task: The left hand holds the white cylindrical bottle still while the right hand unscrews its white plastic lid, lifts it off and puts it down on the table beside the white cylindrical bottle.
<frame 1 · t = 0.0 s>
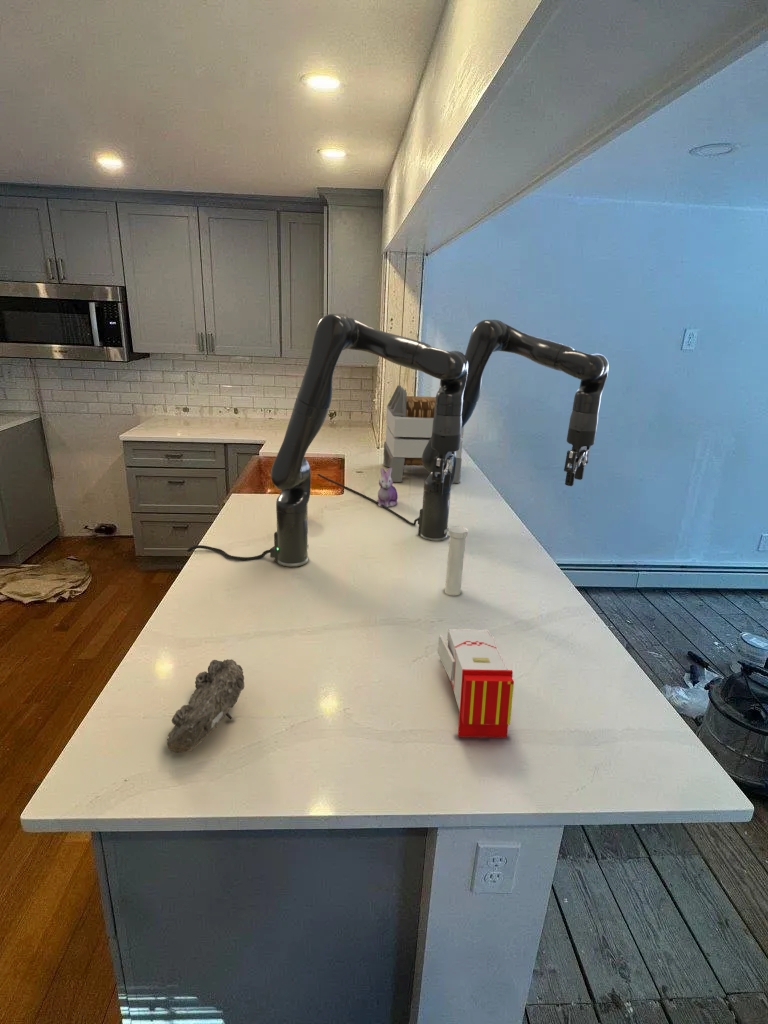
left hand: (441, 490, 152), 29 cm above the counter, tool pointing down, fingers open, 8 cm apart
right hand: (573, 482, 165), 29 cm above the counter, tool pointing down, fingers open, 8 cm apart
grey wooden box: (419, 473, 275), on the counter
fossil: (212, 717, 108), on the counter
figurine character: (298, 523, 206), on the counter
lid: (458, 530, 154), point 19 cm above the counter, screwed on, not yet turned
figurine: (386, 504, 229), on the counter
white cylindrical bottle: (452, 592, 160), on the counter
toy: (469, 691, 119), on the counter
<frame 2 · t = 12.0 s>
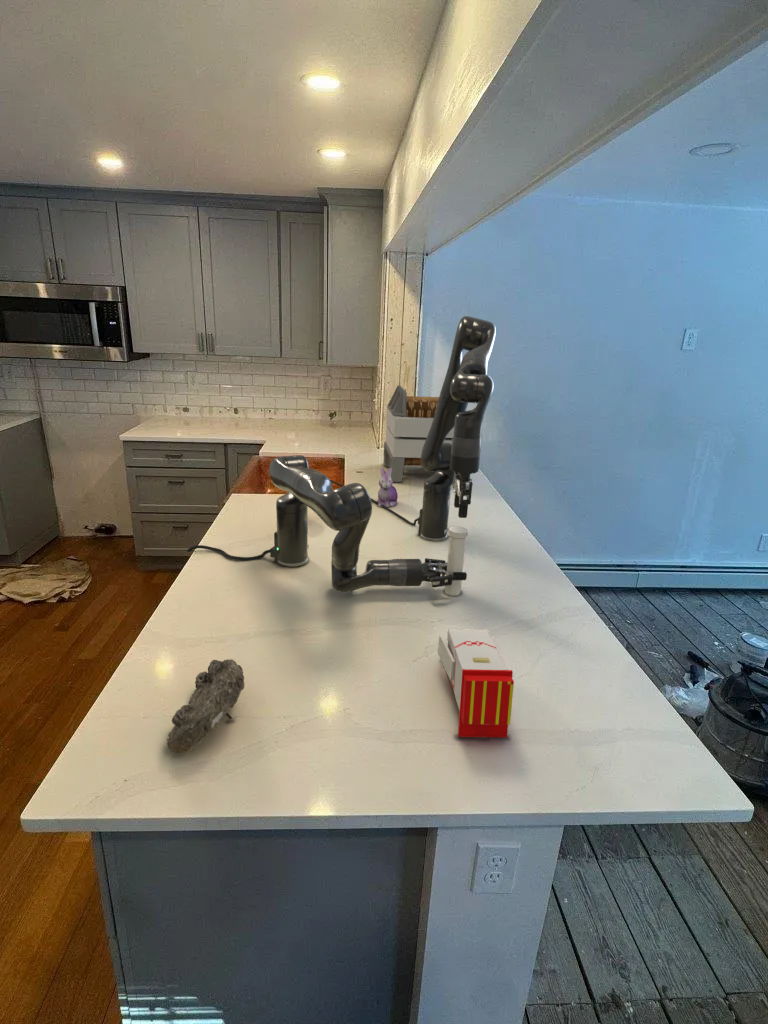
left hand: (463, 572, 159), 6 cm above the counter, tool horizontal, fingers closed on white cylindrical bottle, 4 cm apart
right hand: (460, 512, 152), 24 cm above the counter, tool pointing down, fingers open, 7 cm apart
white cylindrical bottle: (452, 591, 160), on the counter, touching left hand
everything else where it was.
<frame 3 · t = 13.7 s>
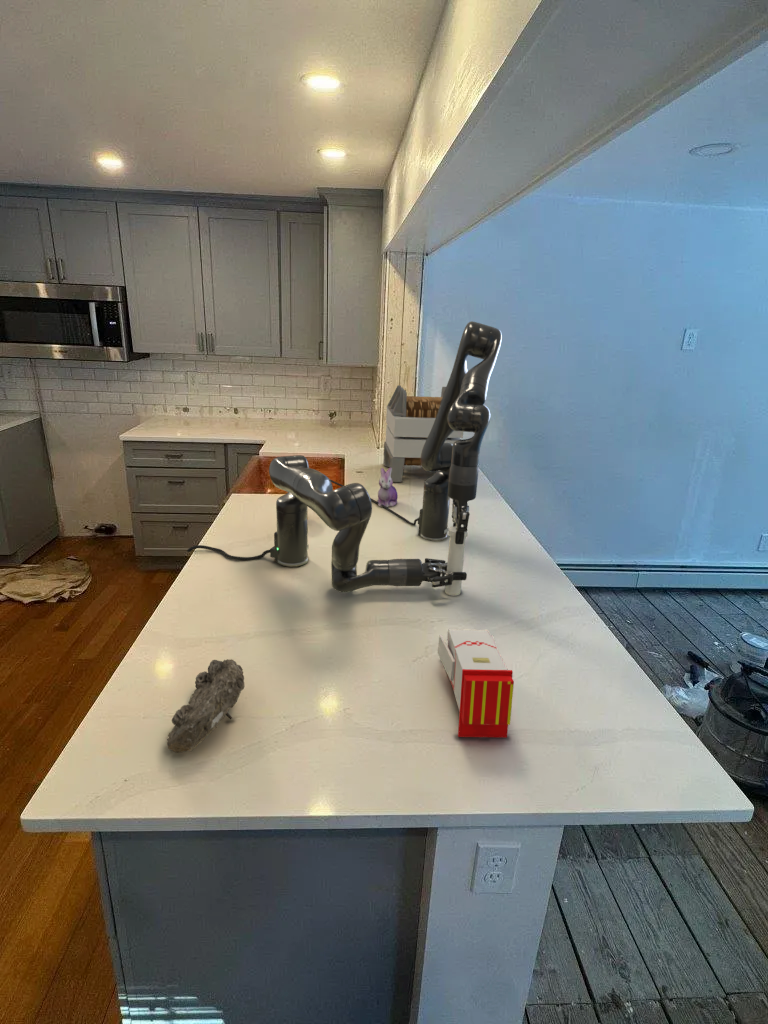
left hand: (463, 572, 159), 6 cm above the counter, tool horizontal, fingers closed on white cylindrical bottle, 4 cm apart
right hand: (457, 539, 155), 16 cm above the counter, tool pointing down, fingers closed on lid, 5 cm apart
lid: (458, 530, 154), point 19 cm above the counter, screwed on, not yet turned, touching right hand
white cylindrical bottle: (452, 591, 160), on the counter, touching left hand
everything else where it was.
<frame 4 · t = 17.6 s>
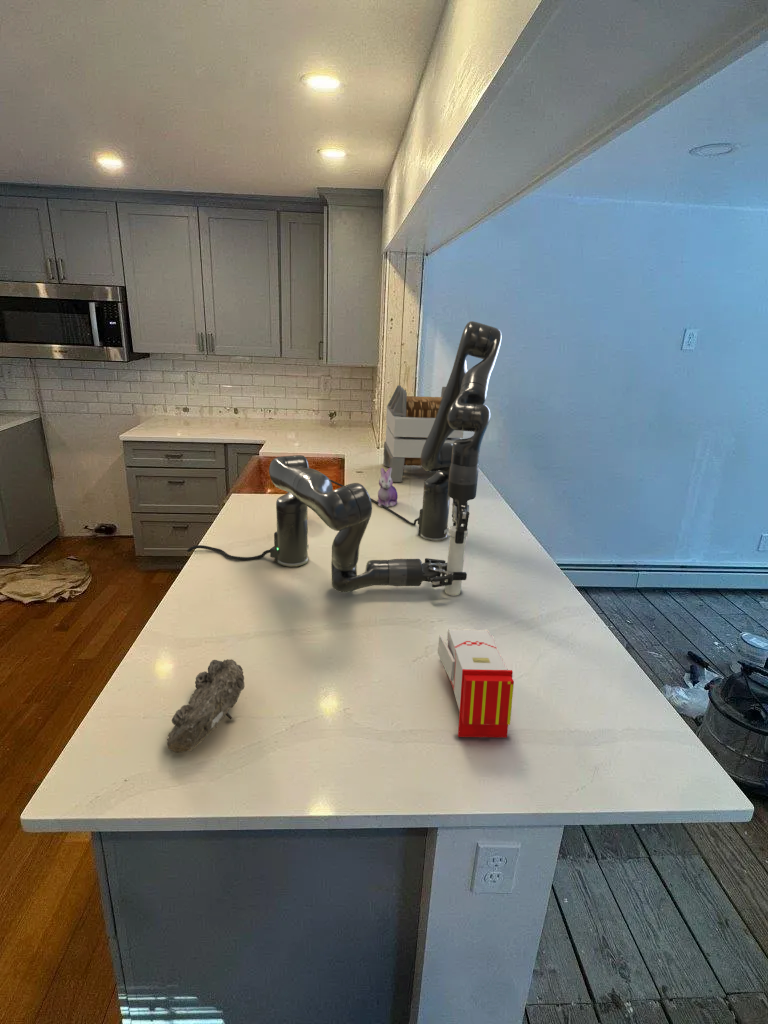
left hand: (463, 572, 159), 6 cm above the counter, tool horizontal, fingers closed on white cylindrical bottle, 4 cm apart
right hand: (457, 538, 155), 16 cm above the counter, tool pointing down, fingers closed on lid, 5 cm apart
lid: (458, 530, 154), point 19 cm above the counter, turned 106° so far, risen 0.2 cm, still on its thread, touching right hand
white cylindrical bottle: (452, 591, 160), on the counter, touching left hand
everything else where it was.
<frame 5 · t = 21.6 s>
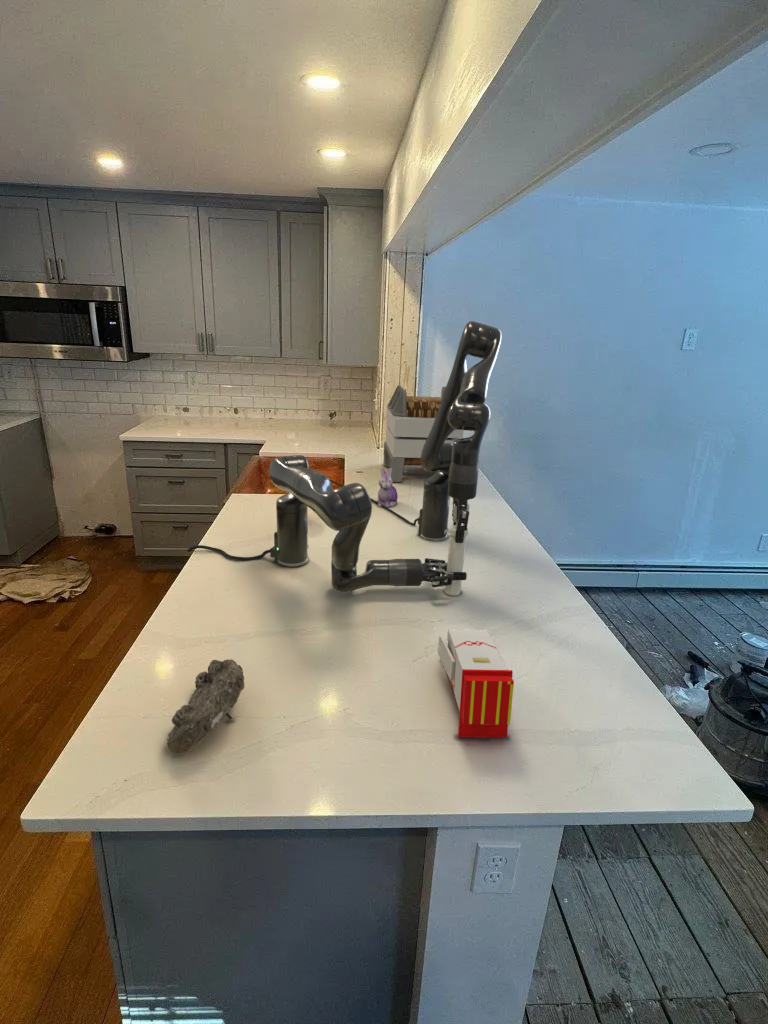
left hand: (463, 572, 159), 6 cm above the counter, tool horizontal, fingers closed on white cylindrical bottle, 4 cm apart
right hand: (457, 538, 155), 16 cm above the counter, tool pointing down, fingers closed on lid, 5 cm apart
lid: (458, 529, 154), point 19 cm above the counter, turned 213° so far, risen 0.4 cm, still on its thread, touching right hand
white cylindrical bottle: (452, 591, 160), on the counter, touching left hand
everything else where it was.
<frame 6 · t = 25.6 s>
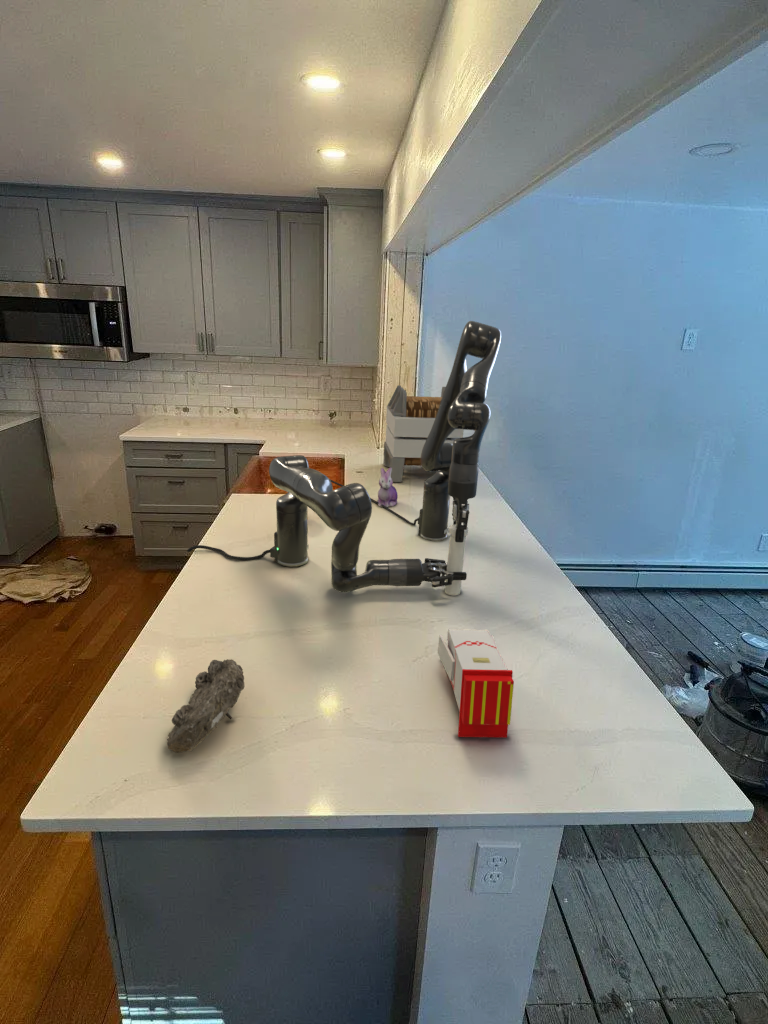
left hand: (463, 572, 159), 6 cm above the counter, tool horizontal, fingers closed on white cylindrical bottle, 4 cm apart
right hand: (457, 537, 155), 17 cm above the counter, tool pointing down, fingers closed on lid, 5 cm apart
lid: (458, 528, 154), point 19 cm above the counter, turned 319° so far, risen 0.6 cm, still on its thread, touching right hand
white cylindrical bottle: (452, 591, 160), on the counter, touching left hand
everything else where it was.
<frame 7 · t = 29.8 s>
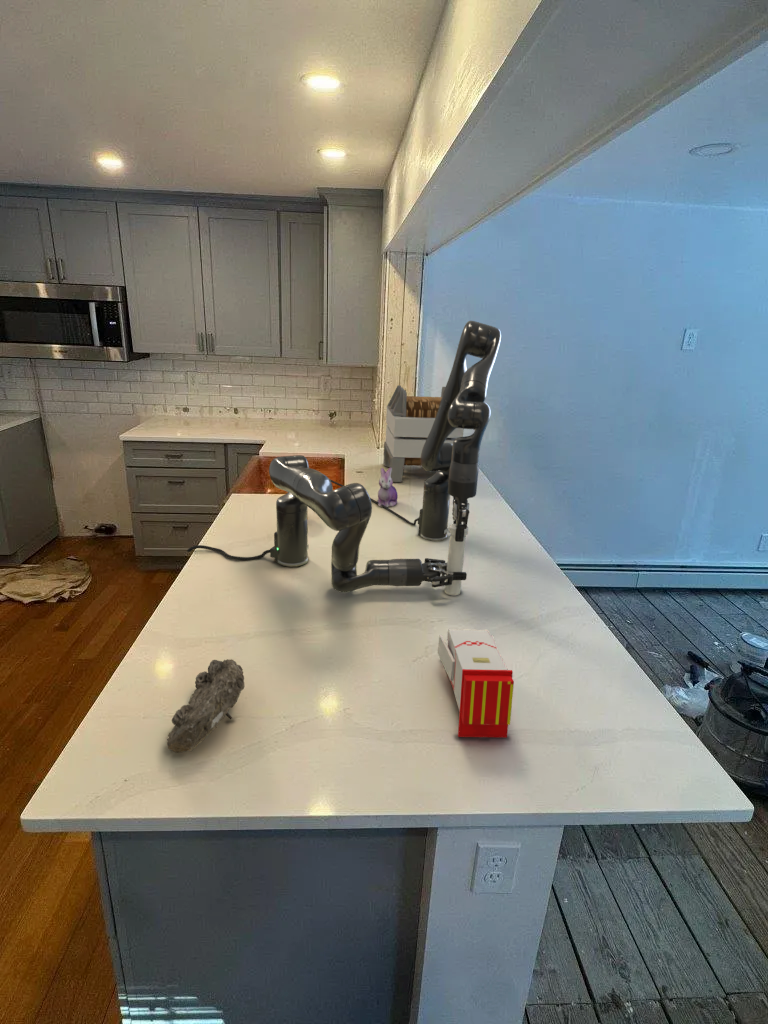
left hand: (463, 571, 159), 6 cm above the counter, tool horizontal, fingers closed on white cylindrical bottle, 4 cm apart
right hand: (457, 536, 155), 17 cm above the counter, tool pointing down, fingers closed on lid, 5 cm apart
lid: (458, 528, 154), point 19 cm above the counter, turned 425° so far, risen 0.7 cm, still on its thread, touching right hand
white cylindrical bottle: (452, 591, 160), on the counter, touching left hand
everything else where it was.
when the right hand's fingers open (0 cm above the counter, at t = 38.1 s): lid drops 2 cm, point 1 cm above the counter.
when the left hand's fingers open (6 cm above the counter, at t = 39.1 s): white cylindrical bottle stays where it is, on the counter.
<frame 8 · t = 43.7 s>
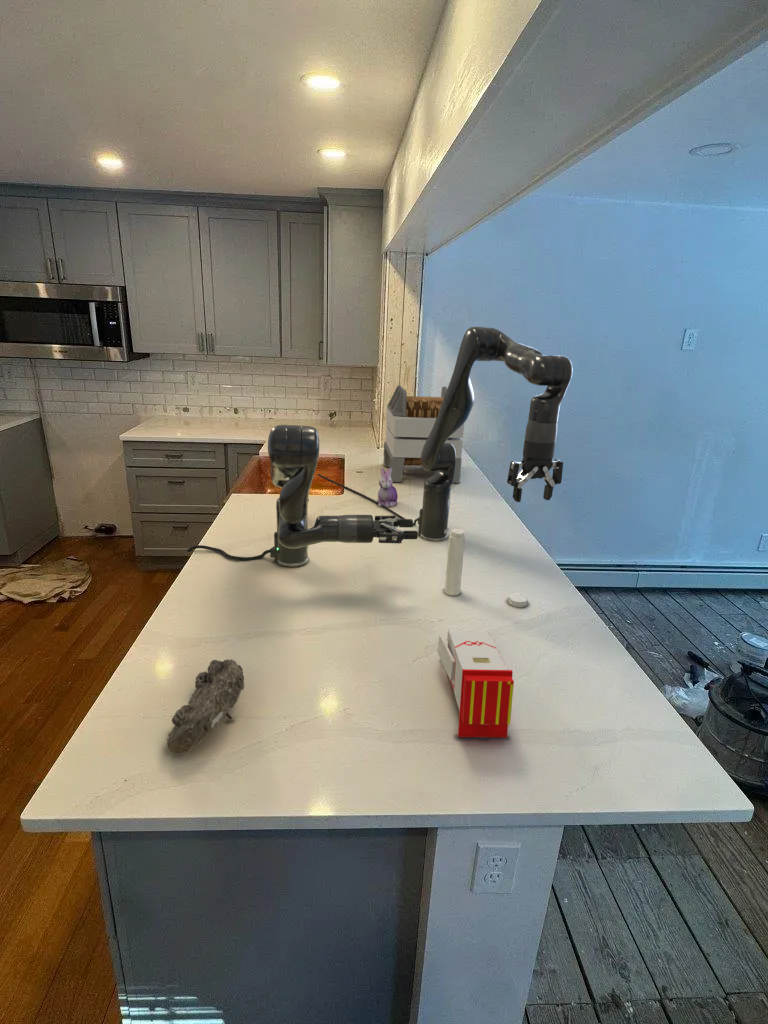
left hand: (415, 528, 153), 19 cm above the counter, tool horizontal, fingers open, 8 cm apart
right hand: (531, 500, 146), 30 cm above the counter, tool pointing down, fingers open, 8 cm apart
lid: (518, 598, 156), point 1 cm above the counter, off its thread
white cylindrical bottle: (452, 591, 160), on the counter
everything else where it was.
at the end: lid came off its thread; lid point 1.3 cm above the counter; the left hand is holding nothing; the right hand is holding nothing; white cylindrical bottle tilted 0°; white cylindrical bottle moved 0.1 cm from its start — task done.
